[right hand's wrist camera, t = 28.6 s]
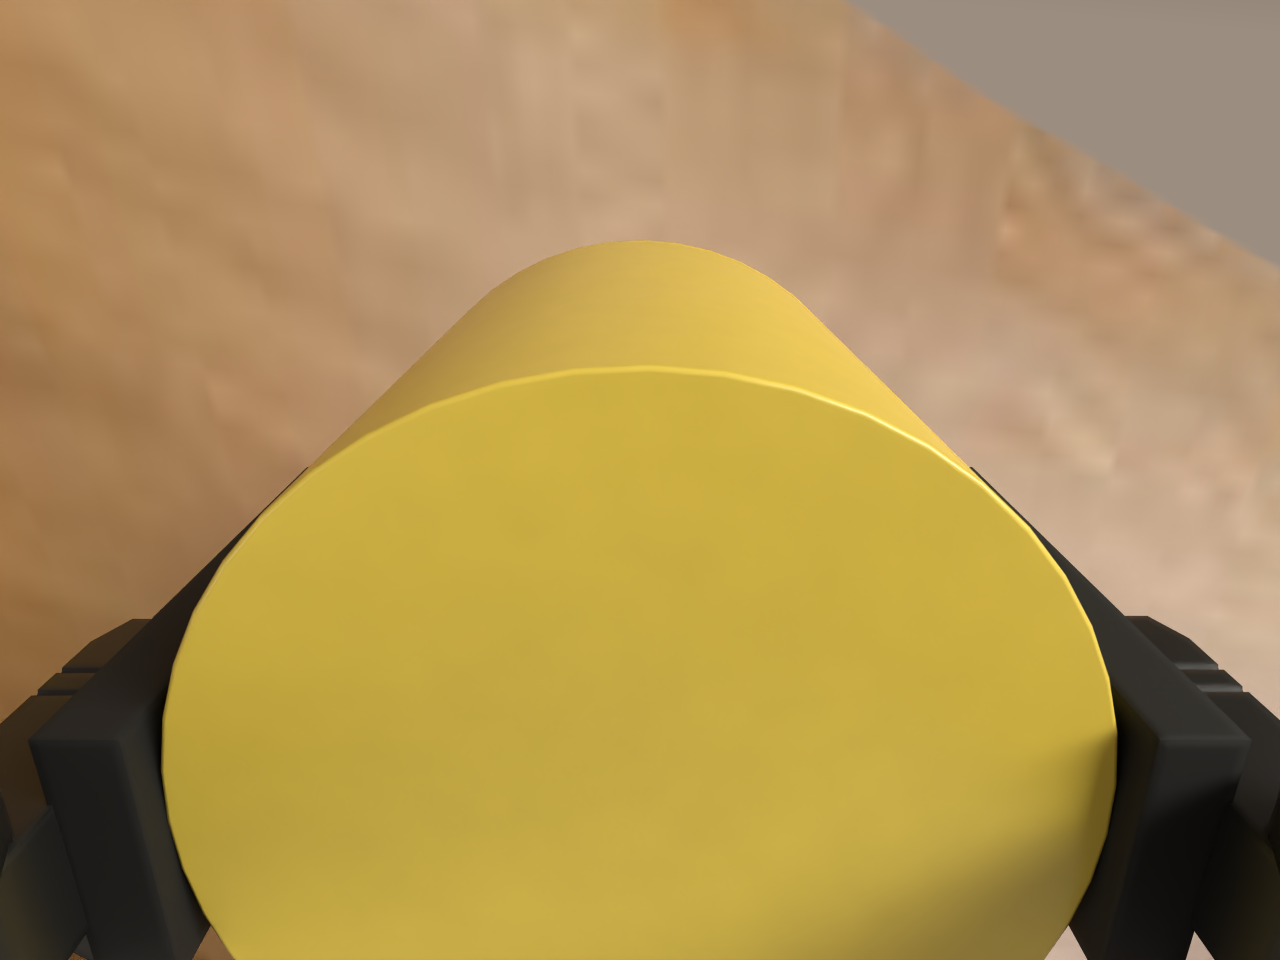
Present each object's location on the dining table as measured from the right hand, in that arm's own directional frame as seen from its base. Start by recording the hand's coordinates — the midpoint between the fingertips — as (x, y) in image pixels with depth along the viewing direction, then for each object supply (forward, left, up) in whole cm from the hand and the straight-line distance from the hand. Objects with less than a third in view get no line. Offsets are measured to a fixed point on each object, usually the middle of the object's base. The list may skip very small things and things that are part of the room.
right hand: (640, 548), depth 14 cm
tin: (0, 0, -3) cm, 3 cm away
